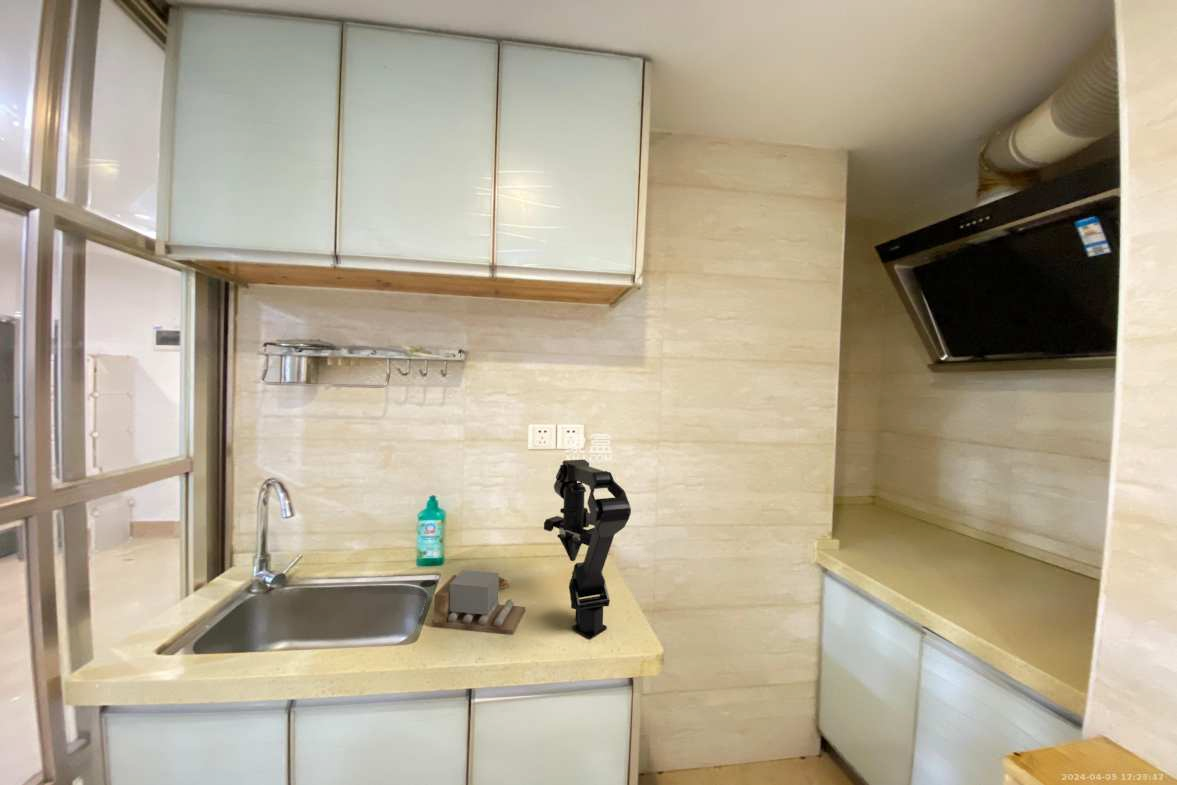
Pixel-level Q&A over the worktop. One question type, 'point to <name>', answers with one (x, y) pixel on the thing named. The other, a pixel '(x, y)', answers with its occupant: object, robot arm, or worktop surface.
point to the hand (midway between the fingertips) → (572, 560)
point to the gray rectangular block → (474, 592)
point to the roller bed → (475, 615)
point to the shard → (503, 583)
